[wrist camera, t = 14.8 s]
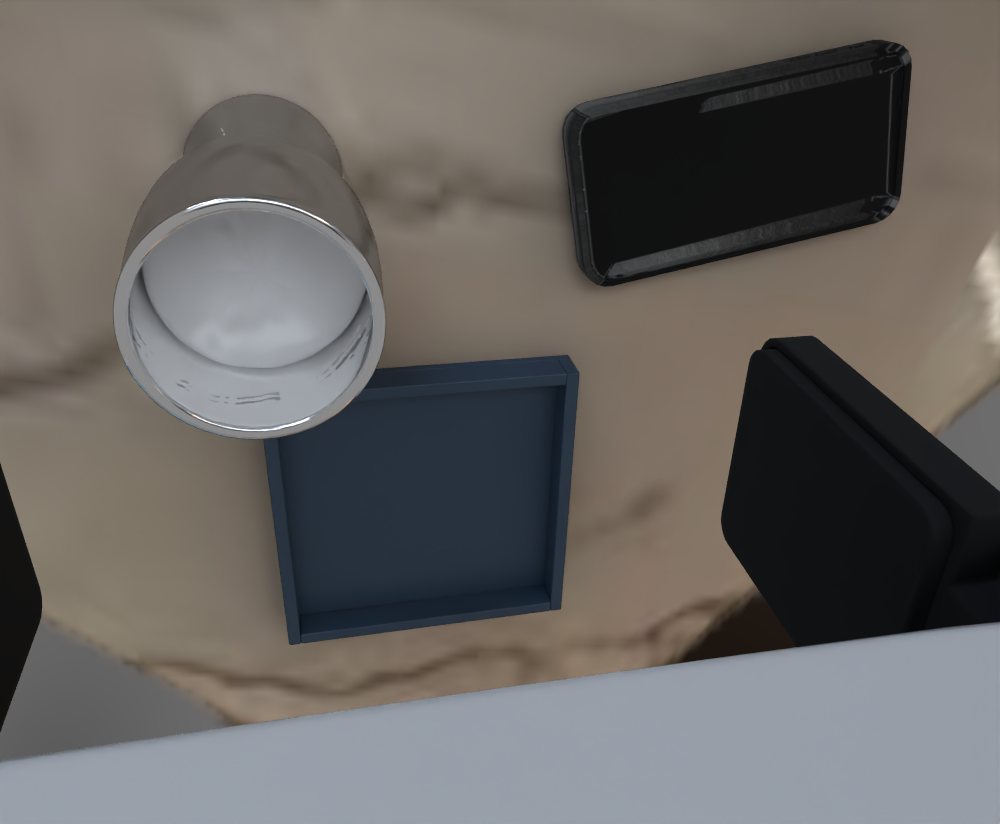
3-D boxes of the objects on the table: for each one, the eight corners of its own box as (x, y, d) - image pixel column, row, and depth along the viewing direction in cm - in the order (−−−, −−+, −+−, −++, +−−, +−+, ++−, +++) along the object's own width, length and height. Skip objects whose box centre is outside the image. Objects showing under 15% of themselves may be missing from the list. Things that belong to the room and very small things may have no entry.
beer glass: (374, 116, 34) (430, 236, 22) (326, 277, 37) (351, 469, 24) (191, 53, 32) (131, 147, 19) (154, 231, 35) (81, 417, 22)
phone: (898, 217, 40) (587, 292, 39) (884, 210, 41) (579, 283, 39) (914, 34, 36) (566, 109, 34) (898, 31, 37) (558, 104, 35)
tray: (568, 354, 41) (579, 372, 40) (551, 586, 48) (561, 609, 47) (258, 377, 39) (258, 397, 37) (288, 619, 46) (289, 645, 44)
